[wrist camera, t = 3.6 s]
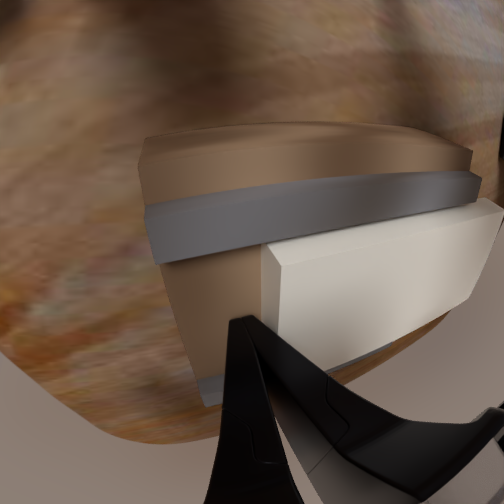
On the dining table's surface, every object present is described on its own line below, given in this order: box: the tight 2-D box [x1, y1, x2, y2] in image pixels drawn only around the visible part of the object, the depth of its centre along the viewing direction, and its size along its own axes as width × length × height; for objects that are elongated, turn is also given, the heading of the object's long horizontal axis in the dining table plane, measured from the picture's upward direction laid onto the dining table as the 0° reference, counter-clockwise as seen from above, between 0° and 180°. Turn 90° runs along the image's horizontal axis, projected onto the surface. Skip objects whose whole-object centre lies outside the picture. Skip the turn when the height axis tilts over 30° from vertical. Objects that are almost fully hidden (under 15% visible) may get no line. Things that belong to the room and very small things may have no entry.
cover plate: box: [261, 198, 504, 371], centre depth 10 cm, size 13×6×2 cm, turn 92°
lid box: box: [138, 122, 482, 407], centre depth 12 cm, size 13×11×5 cm
